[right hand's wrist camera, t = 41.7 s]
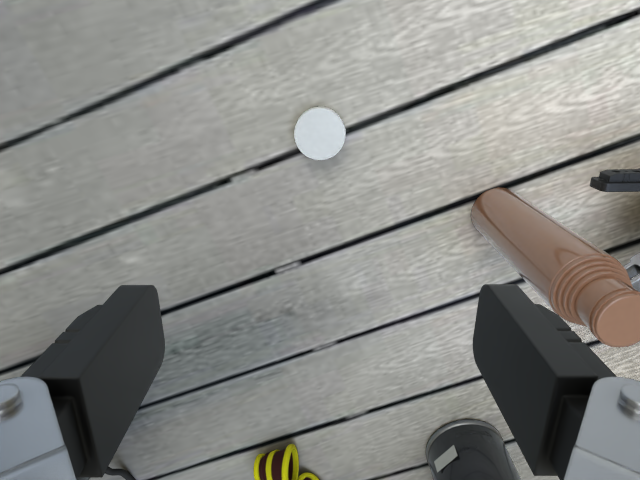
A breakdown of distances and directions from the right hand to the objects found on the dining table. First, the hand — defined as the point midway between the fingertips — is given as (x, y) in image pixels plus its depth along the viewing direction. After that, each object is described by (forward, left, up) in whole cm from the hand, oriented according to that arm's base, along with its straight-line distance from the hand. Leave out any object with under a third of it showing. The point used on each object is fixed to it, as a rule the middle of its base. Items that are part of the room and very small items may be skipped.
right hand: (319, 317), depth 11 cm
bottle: (-3, -19, -33) cm, 38 cm away
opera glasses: (-41, -6, -33) cm, 53 cm away
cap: (0, 0, -31) cm, 31 cm away
